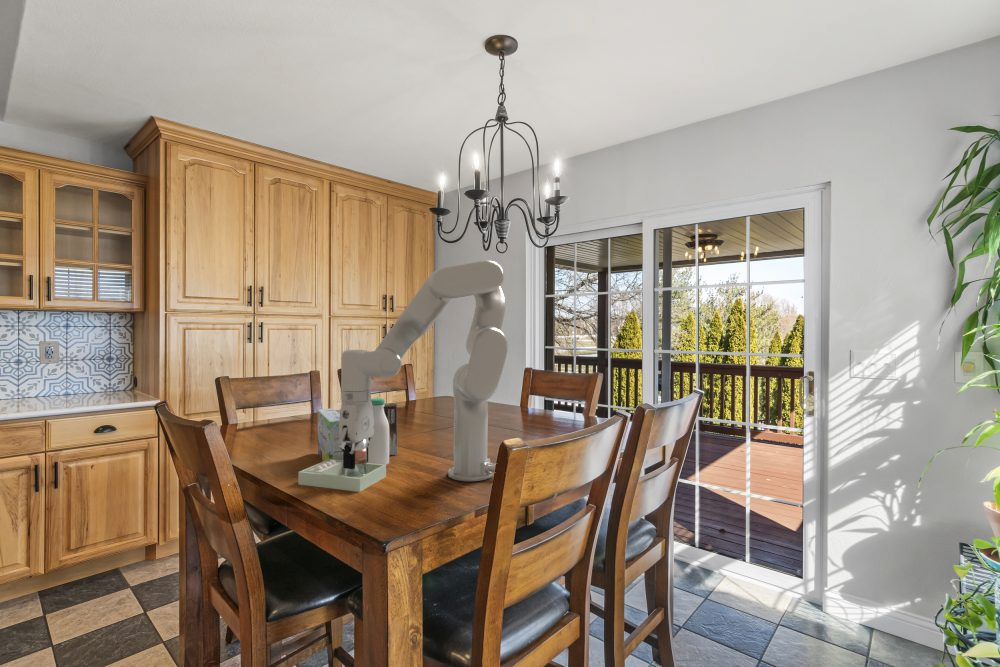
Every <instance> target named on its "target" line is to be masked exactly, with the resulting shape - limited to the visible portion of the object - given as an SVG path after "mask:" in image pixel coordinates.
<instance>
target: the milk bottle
mask: <svg viewBox="0 0 1000 667" xmlns="http://www.w3.org/2000/svg"><path fill="white" fill-rule="evenodd" d="M371 401H372V406H373V415H374V434H373V436H371V439H370V441H369V447H367V448H368V462H367V463H373V464H382V465H386V466H387V465H388V464H390V455H389V423H388V420H387V418H386V415H385V413H384V404H386V403H385V398H380V397H378V398H377V397H374V398H371Z"/></svg>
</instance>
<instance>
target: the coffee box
mask: <svg viewBox="0 0 1000 667" xmlns="http://www.w3.org/2000/svg"><path fill="white" fill-rule="evenodd" d="M397 406H398V405H397V403H396V402H395V403H392V402H391V403H384V413H385V415H386V418H387V420H388V423H389V456H397V455H398V407H397Z"/></svg>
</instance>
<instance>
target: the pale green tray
mask: <svg viewBox="0 0 1000 667" xmlns="http://www.w3.org/2000/svg"><path fill="white" fill-rule="evenodd" d="M330 460H334V459H328V460H326V461H323V460H322V461H321V462H319V463H316V464H314V465H312V466H309V467H307V468H305V469H302V470H300V471H298V475H297V476H298V479H297V480H298V482H297V483H298V485H301V486H309V487H315V488H324V489H333V490H341V491H350V492H356V493H357V492H358V493H360V492H362V491H364V490H366V489H367V488H369V487H371V486H373V485H374V484H376V483H378V482H380V481H381V480H383V479H385V478H386V477H387V465H382V464H373V463H366V474H365V475H363V476H359V477H348V476H345V468H343V460H335V461H336V462H341V463H342V474H341V475H339V476H337V475H328V474H320V473H311V472H308V470H310V469H312V468H315V467H316V466H318V465H321V464H323V463H325V462H329V461H330Z"/></svg>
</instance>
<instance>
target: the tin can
mask: <svg viewBox="0 0 1000 667" xmlns="http://www.w3.org/2000/svg"><path fill="white" fill-rule="evenodd" d="M347 441H350V439H347ZM347 445H348V446H349V447H350V446H351V444H349V443H348V444H347ZM366 446H367V439H364V440H362V441H360V442H357V443H355V447H354V453H355V469H346V468H345V476H348V477H359V476H363V475H365V474H366V462H367V447H366Z"/></svg>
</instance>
